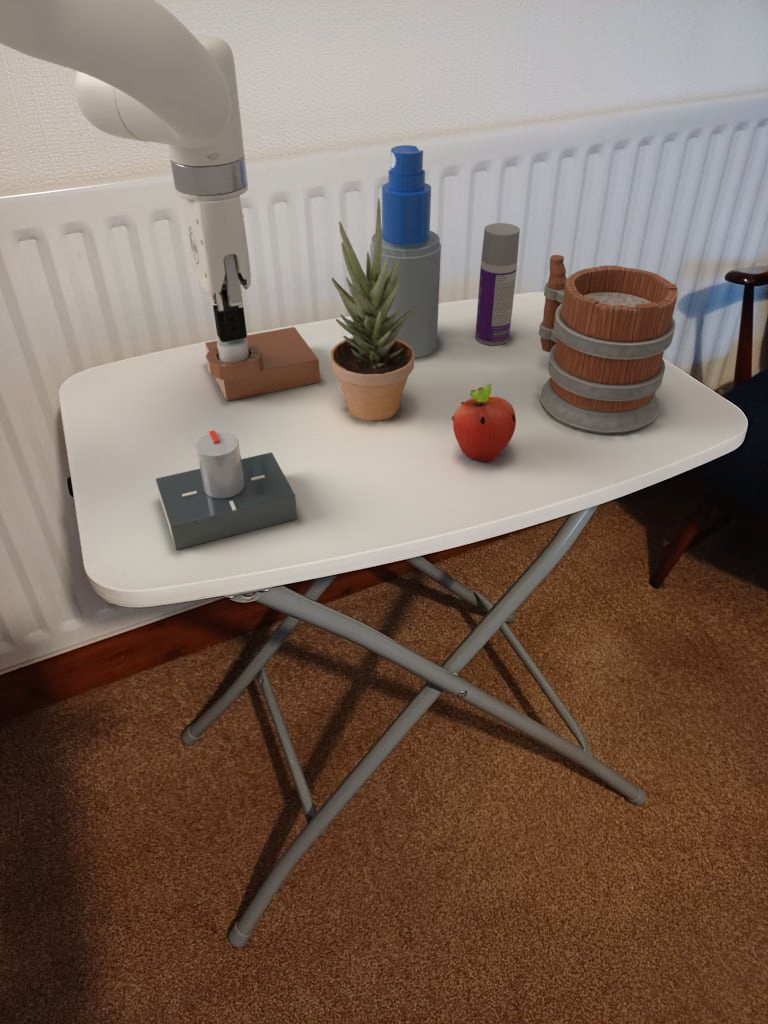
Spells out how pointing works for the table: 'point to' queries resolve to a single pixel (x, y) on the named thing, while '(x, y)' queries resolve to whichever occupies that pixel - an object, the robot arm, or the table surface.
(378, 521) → the table surface
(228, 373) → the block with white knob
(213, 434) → the tap knob
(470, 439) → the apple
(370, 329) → the potted plant
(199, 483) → the panel
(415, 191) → the spray bottle
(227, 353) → the white cylindrical plug
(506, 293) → the container
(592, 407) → the mug
